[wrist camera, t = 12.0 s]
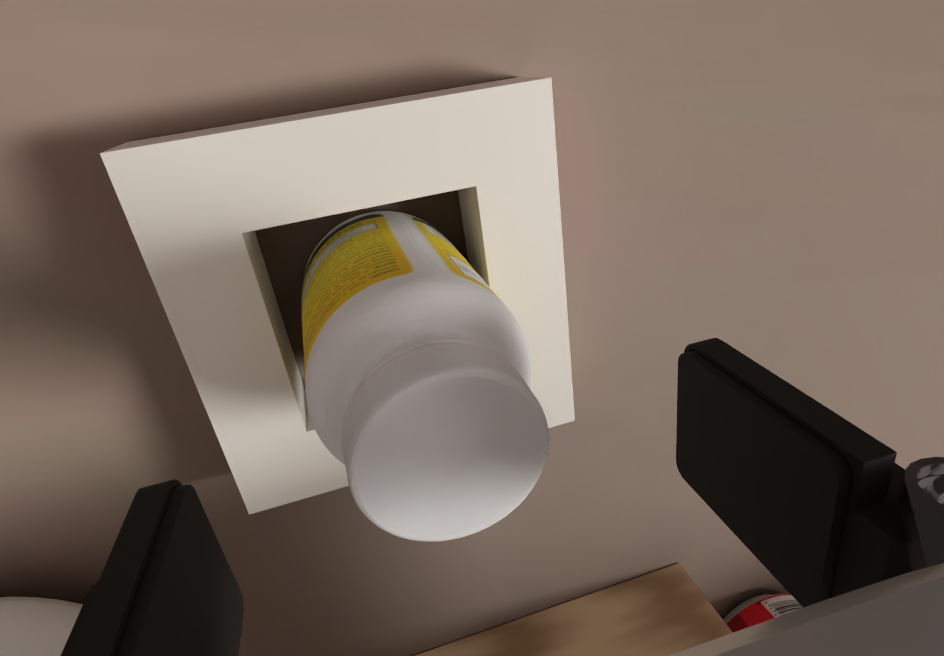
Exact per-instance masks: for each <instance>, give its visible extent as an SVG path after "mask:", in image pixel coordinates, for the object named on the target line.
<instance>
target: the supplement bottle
mask: <svg viewBox="0 0 944 656" xmlns="http://www.w3.org/2000/svg"><path fill="white" fill-rule="evenodd" d="M302 331H303V348H304V375H305V393H306V401H307V406H308V411H309V415H310V418H311V421H312V424H313V427H314V429H315V431H316V433H317V435H318V436H319V438H320V440H321V441H322V443H323V444H324V445H325V447H326V448H327V449H328V450H329V451H330V453H331V454H332V455H333V456H334V457H336V458H337V459H338V460H339V461H340V462H341V463H343V464H344V465H345V466H346V472H347V480H348V484H349V487H350V491H351V493H352V496H353V498H354V500H355V502H356V504H357V506H358V507H359V509H360V510H361V511H362V513H363V514H364V515H365V516H366V517H367V518H368V519H369V520H370V521H371V522H373V523H374V524H375V525H377V526H378V527H379V528H381V529H382V530H384V531H386V532H388V533H391V534H393V535H395V536H398V537H402V538H405V539H410V540H416V541H447V540H452V539H457V538H461V537H464V536H467V535H470V534H473V533H476V532H479V531H481V530H483V529H485V528H488V527H490V526H491V525H493V524H494V523H496V522H498V521H499V520H501V519H502V518H504V517H505V516H507V515H508V514H509V513H510V512H512V511H513V510H514V509H515V508H516V507H517V506H519V505H520V503H521V502H522V501H523V500H524V499H525V498H526V497H527V495H528V494H529V493H530V492H531V490H532V489H533V487H534V486H535V484H536V482H537V481H538V479H539V477H540V475H541V473H542V470H543V468H544V465H545V462H546V458H547V454H548V449H549V430H548V424H547V420H546V417H545V414H544V412H543V409H542V407H541V405H540V403H539V402H538V400H537V398H536V397H535V396H534V394H533V393H532V391H531V390H530V387H531V373H532V365H531V356H530V351H529V346H528V343H527V340H526V338H525V335H524V333H523V331H522V329H521V327H520V325H519V323H518V322H517V320H516V319H515V317H514V316H513V314H512V313H511V312H510V310H509V309H508V308H507V307H506V305H505V304H504V303H503V302H502V300H501V299H500V298H499V297H498V296H497V295H496V294H495V293H494V292H493V290H492V289H491V288H490V287H489V286H488V285H487V283H486V282H485V281H484V280H483V279H482V278H481V277H480V275H479V274H478V273H477V272H476V271H475V270H474V269H473V267H472V266H471V265H470V264H469V263H468V262H467V260H466V259H465V258H464V257H463V256H462V255H461V254H460V253H459V251H458V250H457V249H456V248H455V247H454V246H453V244H452V243H451V242H450V241H449V240H448V239H447V238H446V237H445V236H444V235H443V234H442V233H441V232H440V231H439V230H437V229H436V228H435V227H434V226H432V225H431V224H429V223H427V222H426V221H424V220H422V219H420V218H418V217H415V216H413V215H409V214H406V213H401V212H396V211H376V212H369V213H364V214H361V215H358V216H355V217H352V218H350V219H348V220H346V221H344V222H342V223H340V224H339V225H337V226H336V227H335V228H333V229H332V230H331V231H329V232H328V233H327V234H326V235H325V236H324V237H323V238H322V240H321V241H320V242H319V243H318V245H317V246H316V247H315V249H314V250H313V252H312V254H311V256H310V258H309V260H308V262H307V265H306V268H305V272H304V276H303V282H302Z"/></svg>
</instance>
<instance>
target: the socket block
mask: <svg viewBox="0 0 944 656" xmlns="http://www.w3.org/2000/svg"><path fill="white" fill-rule="evenodd" d="M100 155H101V158H102V160H103V163H104V165H105V167H106V170H107V172H108V175H109V177H110V179H111V182H112V184H113V187H114V189H115V191H116V194H117V196H118V199H119V201H120V204H121V206H122V208H123V211H124V213H125V216H126V218H127V220H128V223H129V225H130V228H131V230H132V233H133V235H134V237H135V240H136V242H137V245H138V247H139V249H140V252H141V254H142V257H143V259H144V262H145V264H146V266H147V269H148V271H149V274H150V276H151V278H152V281H153V283H154V286H155V288H156V290H157V293H158V295H159V298H160V300H161V303H162V305H163V307H164V310H165V312H166V315H167V317H168V319H169V322H170V324H171V327H172V329H173V332H174V334H175V336H176V339H177V341H178V344H179V346H180V348H181V351H182V353H183V356H184V358H185V361H186V363H187V365H188V368H189V370H190V373H191V375H192V377H193V380H194V382H195V385H196V387H197V389H198V392H199V394H200V397H201V399H202V402H203V404H204V406H205V409H206V411H207V414H208V416H209V418H210V421H211V423H212V426H213V428H214V431H215V433H216V435H217V438H218V440H219V443H220V445H221V447H222V450H223V452H224V455H225V457H226V459H227V462H228V464H229V467H230V469H231V472H232V474H233V476H234V479H235V481H236V484H237V486H238V488H239V491H240V493H241V496H242V498H243V501H244V503H245V505H246V508H247V510H248V513H249V515H250V514H253V513H257V512H260V511H263V510H267V509H270V508H274V507H277V506H281V505H284V504H288V503H291V502H295V501H298V500H302V499H305V498H309V497H312V496H315V495H319V494H322V493H326V492H329V491H333V490H336V489H340V488H343V487H347V486H349V484H348V480H347V472H346V466H345V465H344V464H343V463H341V462H340V461H339V460H338V459H337V458H336V457H334V456H333V455H332V454H331V453H330V451H329V450H328V449H327V448H326V447H325V445H324V444H323V443H322V441H321V440H320V438H319V436H318V435H317V433H316V431H315V429H314V427H313V424H312V421H311V418H310V415H309V411H308V406H307V401H306V393H305V389H304V385H303V382H302V379H301V376H300V373H299V370H298V366H297V363H296V360H295V357H294V354H293V351H292V347H291V344H290V341H289V338H288V335H287V332H286V328H285V325H284V322H283V319H282V316H281V313H280V309H279V306H278V303H277V300H276V297H275V294H274V290H273V287H272V284H271V281H270V278H269V275H268V271H267V268H266V265H265V262H264V259H263V255H262V252H261V249H260V246H259V243H258V240H257V236H256V233H255V230H260V229H265V228H270V227H275V226H280V225H285V224H290V223H295V222H300V221H304V220H309V219H314V218H319V217H324V216H329V215H334V214H339V213H344V212H349V211H354V210H359V209H364V208H369V207H374V206H379V205H384V204H389V203H394V202H399V201H404V200H409V199H414V198H419V197H424V196H429V195H434V194H439V193H444V192H449V191H454V190H458V195H459V202H460V209H461V216H462V222H463V229H464V236H465V243H466V249H467V256H468V263H469V264H470V265H471V266H472V267H473V269H474V270H475V271H476V272H477V273H478V274H479V275H480V277H481V278H482V279H483V280H484V281H485V282H486V283H487V285H488V286H489V287H490V288H491V289H492V290H493V292H494V293H495V294H496V295H497V296H498V297H499V298H500V299H501V300H502V302H503V303H504V304H505V305H506V307H507V308H508V309H509V310H510V312H511V313H512V314H513V316H514V317H515V319H516V320H517V322H518V323H519V325H520V327H521V329H522V331H523V333H524V335H525V338H526V340H527V343H528V346H529V351H530V356H531V365H532V373H531V387H530V390H531V391H532V393H533V394H534V396H535V397H536V398H537V400H538V402H539V403H540V405H541V407H542V409H543V412H544V414H545V417H546V420H547V424H548V428H551V427H554V426H558V425H561V424H565V423H568V422H572V421H575V416H574V402H573V387H572V372H571V358H570V343H569V329H568V314H567V300H566V285H565V270H564V256H563V241H562V227H561V212H560V198H559V183H558V168H557V154H556V139H555V125H554V110H553V96H552V81H551V77H516V78H510V79H504V80H498V81H492V82H486V83H480V84H474V85H468V86H462V87H456V88H450V89H444V90H438V91H432V92H426V93H420V94H414V95H407V96H401V97H395V98H389V99H383V100H377V101H371V102H365V103H359V104H353V105H347V106H341V107H335V108H329V109H323V110H317V111H311V112H305V113H299V114H293V115H287V116H281V117H275V118H269V119H263V120H257V121H251V122H245V123H239V124H233V125H227V126H221V127H215V128H209V129H203V130H196V131H190V132H184V133H178V134H172V135H166V136H160V137H154V138H148V139H142V140H136V141H130V142H126V143H124V144H121V145H119V146H116V147H114V148H112V149H109V150H107V151H104V152H102V153H100Z"/></svg>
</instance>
